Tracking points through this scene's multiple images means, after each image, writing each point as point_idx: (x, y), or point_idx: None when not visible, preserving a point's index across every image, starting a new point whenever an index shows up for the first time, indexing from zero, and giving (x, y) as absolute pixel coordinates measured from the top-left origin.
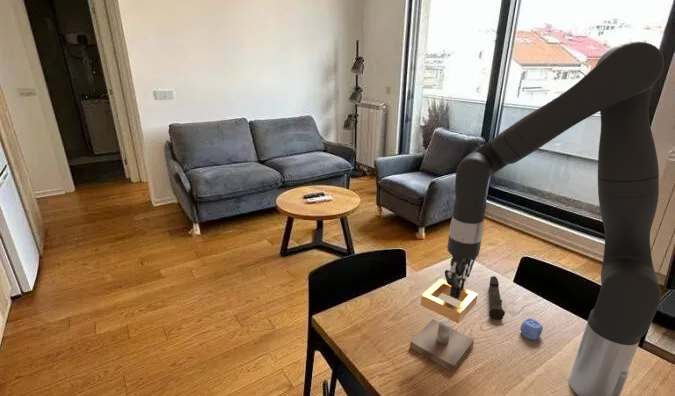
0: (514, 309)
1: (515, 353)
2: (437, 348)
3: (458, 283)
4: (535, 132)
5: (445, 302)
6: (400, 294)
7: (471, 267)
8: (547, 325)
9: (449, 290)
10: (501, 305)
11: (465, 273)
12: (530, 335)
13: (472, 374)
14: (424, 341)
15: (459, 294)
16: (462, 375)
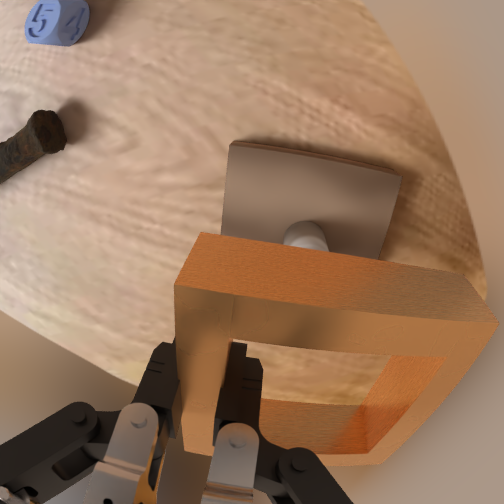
0: (3, 107)
1: (181, 17)
2: (350, 243)
3: (288, 480)
4: None
5: (414, 405)
6: None
7: (27, 451)
8: (17, 16)
9: None
10: (14, 135)
11: (141, 493)
12: (81, 13)
13: (370, 113)
14: None
15: (229, 360)
16: (390, 141)
